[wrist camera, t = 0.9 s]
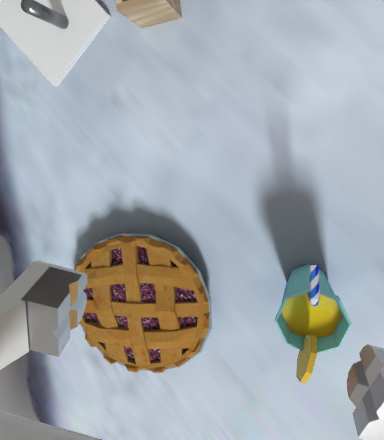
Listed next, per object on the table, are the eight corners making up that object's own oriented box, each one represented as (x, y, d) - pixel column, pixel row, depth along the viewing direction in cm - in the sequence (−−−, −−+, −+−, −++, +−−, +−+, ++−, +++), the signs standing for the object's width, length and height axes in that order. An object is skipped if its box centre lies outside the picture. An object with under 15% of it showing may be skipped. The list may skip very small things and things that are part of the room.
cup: (276, 226, 48) (270, 266, 33) (339, 225, 46) (362, 268, 31) (278, 322, 51) (274, 396, 37) (337, 326, 49) (357, 406, 35)
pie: (228, 357, 54) (223, 379, 50) (101, 361, 61) (85, 380, 56) (200, 217, 50) (191, 226, 46) (67, 236, 57) (47, 246, 52)
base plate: (110, 16, 47) (107, 13, 46) (57, 86, 51) (53, 85, 50) (27, -77, 47) (22, -81, 46) (-19, 1, 51) (-25, -1, 50)
